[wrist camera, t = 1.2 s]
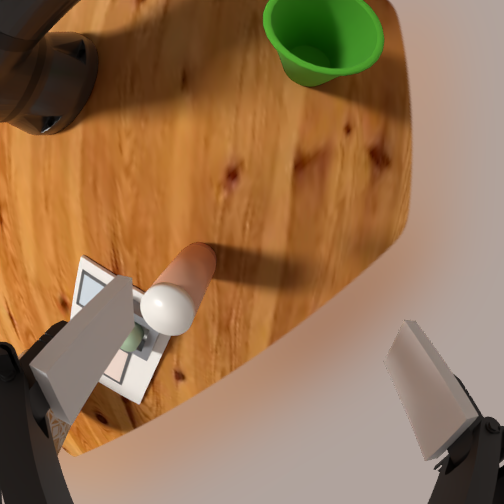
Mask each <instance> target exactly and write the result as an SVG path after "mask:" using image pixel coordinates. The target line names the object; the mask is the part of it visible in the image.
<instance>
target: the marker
mask: <svg viewBox="0 0 504 504" xmlns="http://www.w3.org/2000/svg"><path fill="white" fill-rule="evenodd" d="M216 261H217V259H216V254H215V252H214V250H213V249H212V248H211V247H210V246H208V245H207V244H205V243H201V242H196V243H192V244H190V245H189V246H187V247H185V248H184V249H183V250H182V251H181V252H180V253H179V254H178V255H177V257H176V258H175V259H174V260H173V261H172V262H171V263H170V265H169V266H168V267H167V268H166V269H165V270H164V272H163V273H162V274H161V275H160V276H159V277H158V279H157V280H156V281H155V282H154V283H153V285H152V286H151V287H150V288H149V289H148V291H147V292H146V293H145V294H144V295H143V297H142V299H141V303H140V309H141V313H142V316H143V318H144V320H145V321H146V323H147V324H148V325H149V326H150V327H151V328H153V329H154V330H155V331H157V332H159V333H161V334H164V335H169V336H176V335H180V334H183V333H184V332H186V331H187V330H188V329H189V328H190V326H191V324H192V321H193V319H194V317H195V315H196V312H197V310H198V308H199V306H200V303H201V301H202V299H203V296H204V294H205V292H206V290H207V288H208V285H209V283H210V281H211V279H212V276H213V274H214V272H215V269H216Z"/></svg>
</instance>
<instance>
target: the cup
mask: <svg viewBox="0 0 504 504" xmlns="http://www.w3.org/2000/svg"><path fill="white" fill-rule="evenodd" d="M263 27H264V30H265V33H266V35H267V38H268V39H269V41H270V42H271V43H272V45H273V46H274V48H275V49H276V50H277V52H278V54H279V57H280V60H281V63H282V65H283V68H284V71H285V73H286V74H287V76H288V77H289V78H290V79H291V80H292V81H294V82H296V83H297V84H300V85H302V86H308V87H311V86H318V85H321V84H323V83H325V82H328V81H330V80H332V79H334V78H337V77H339V76H347V75H352V74H357V73H360V72H362V71H364V70H366V69H368V68H370V67H371V66H372V65H373V64H374V63H375V62H376V61H377V60H378V59H379V57H380V55H381V53H382V51H383V46H384V34H383V28H382V25H381V23H380V21H379V19H378V17H377V15H376V14H375V13H374V11H373V10H372V9H371V7H370V6H369V5H368V4H367V3H365V2H364V1H363V0H269V1H268V3H267V4H266V7H265V10H264V13H263Z"/></svg>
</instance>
